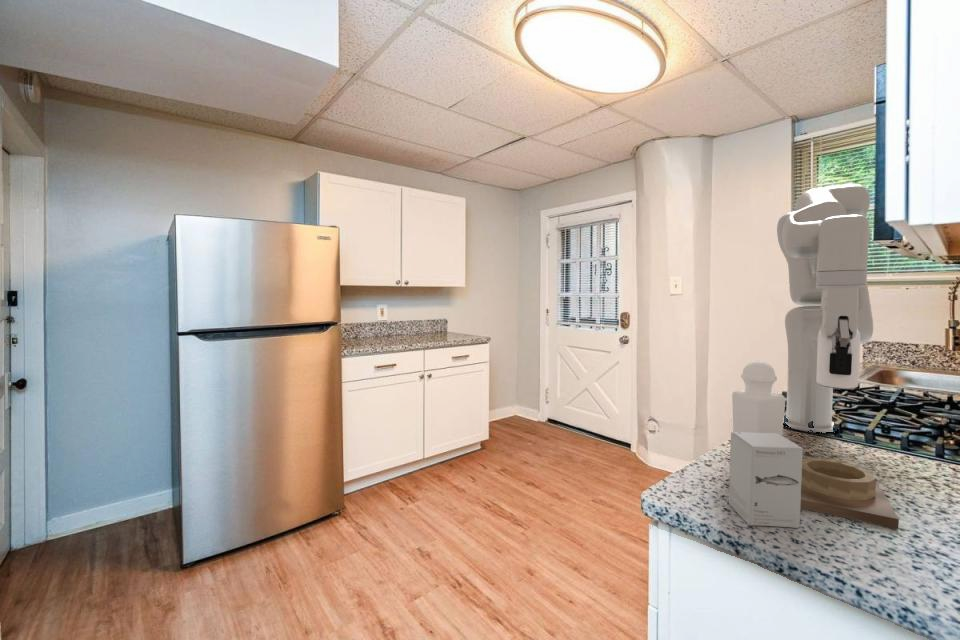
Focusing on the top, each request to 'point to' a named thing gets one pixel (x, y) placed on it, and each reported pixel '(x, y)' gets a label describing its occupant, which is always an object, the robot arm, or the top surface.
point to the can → (823, 364)
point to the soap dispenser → (758, 401)
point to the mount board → (844, 492)
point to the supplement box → (765, 479)
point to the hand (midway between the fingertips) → (837, 370)
